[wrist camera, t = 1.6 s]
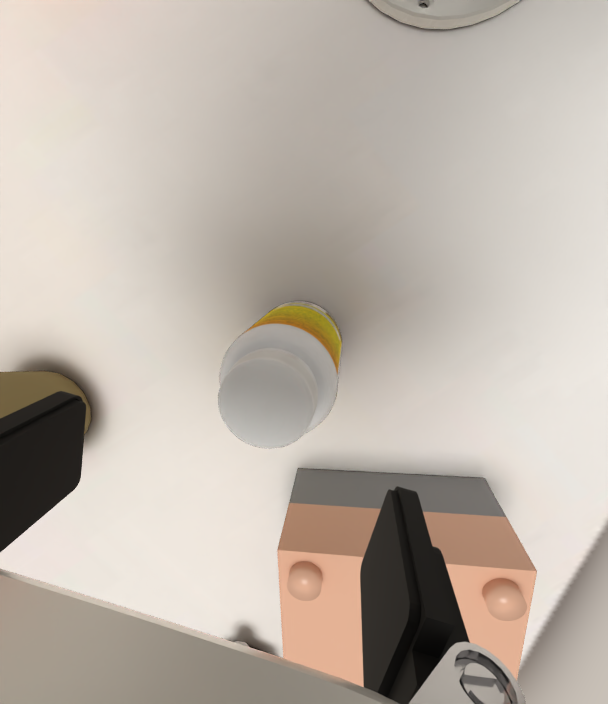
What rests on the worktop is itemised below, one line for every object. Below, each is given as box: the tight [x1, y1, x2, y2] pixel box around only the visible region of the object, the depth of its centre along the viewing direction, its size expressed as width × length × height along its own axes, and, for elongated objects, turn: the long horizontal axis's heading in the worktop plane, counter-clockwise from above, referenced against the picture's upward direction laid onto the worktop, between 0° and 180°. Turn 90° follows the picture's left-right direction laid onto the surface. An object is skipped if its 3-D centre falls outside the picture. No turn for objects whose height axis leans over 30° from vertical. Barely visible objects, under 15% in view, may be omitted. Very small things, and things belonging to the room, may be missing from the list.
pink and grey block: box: [278, 468, 537, 687], centre depth 24 cm, size 13×13×8 cm
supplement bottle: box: [218, 301, 342, 449], centre depth 19 cm, size 6×6×10 cm
